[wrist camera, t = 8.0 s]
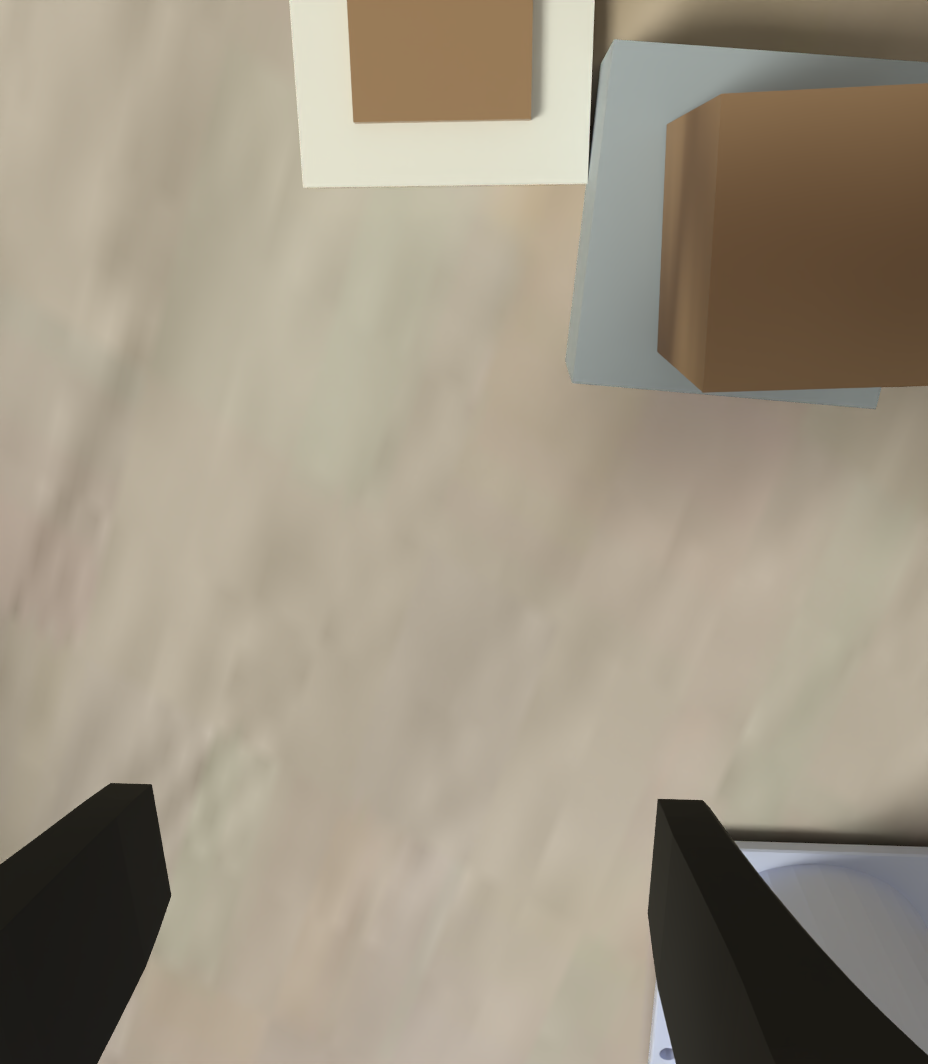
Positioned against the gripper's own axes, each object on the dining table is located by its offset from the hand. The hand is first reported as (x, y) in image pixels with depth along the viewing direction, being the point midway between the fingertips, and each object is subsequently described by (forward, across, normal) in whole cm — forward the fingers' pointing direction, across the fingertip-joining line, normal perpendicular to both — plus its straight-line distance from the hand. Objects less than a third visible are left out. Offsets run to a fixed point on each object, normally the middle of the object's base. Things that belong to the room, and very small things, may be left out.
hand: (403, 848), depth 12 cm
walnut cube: (+7, -6, -8) cm, 12 cm away
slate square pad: (+10, -6, -8) cm, 14 cm away
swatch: (+10, 0, -12) cm, 16 cm away
